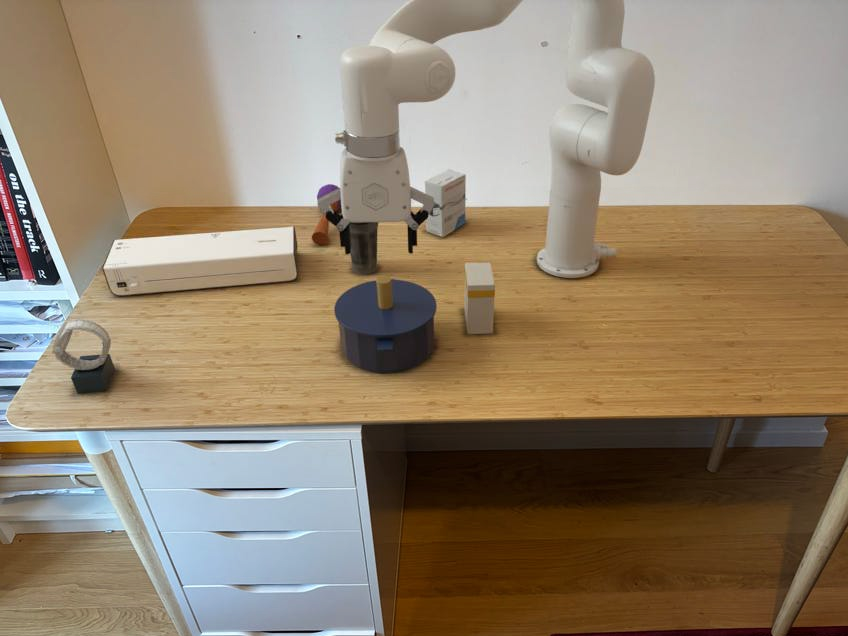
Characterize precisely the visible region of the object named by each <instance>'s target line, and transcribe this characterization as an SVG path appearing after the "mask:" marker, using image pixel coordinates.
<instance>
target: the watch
mask: <svg viewBox="0 0 848 636" xmlns="http://www.w3.org/2000/svg"><path fill="white" fill-rule="evenodd" d="M73 331H86V332H89V333H92V334H94V335H95V336H97V337H98V338H99V339H100V340H101V341H102V342H101V344H102V351H101V353H100V354H91V355H80V356H79V358H77V357H75V356H73V355H72V354H70V353H69V352H68V351H66V349H67V347H68V344H69V343H70V339H71V337H72V334H73ZM111 345H112V339H111V337H110V335H109V332H108V331H107V330H106V329H105V328H104V327H102V326H101V325H100V324H98V323H96V322H94V321H92V320H88V319H79V318H78V319H70V320H69V321H68V322H67V323H66V322H63V323H62V325H61V326H60V328H59V330H58V332H57V335H56V337H55V340H54V342H53V346H52V351H51V354H54V355H55V356H54V357H55V359H56V360H57V361H59V362H60V363H62V365H64V366H66V367H68V368H70V369H74V370H73V372H72V374H71V376H70V379H71V382H72V385H73V386H74V388H75V391H76V394H86V393H87V394H88V393H96V392H97V393H98V392H107V391H108V389H109V387H110V384H111V382H112V379H113V376H114V373H115V371H116V367H115V365H114V363H113V359H112V356H111V355H110V353H109V352H110V349H111Z"/></svg>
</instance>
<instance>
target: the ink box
mask: <svg viewBox="0 0 848 636" xmlns="http://www.w3.org/2000/svg"><path fill="white" fill-rule="evenodd" d="M466 181H467V180H466V174H465V173H463V172H459V171H455V170H453V169H447V170H445V171H442V172H441V173H438V174H436V175H434V176H433V177H431V178H428V179H426V180H425V181H424V190H425V192H424V193H425V194H427V195H429V196H432V197H433V198H434V199H435V205H434V207H433V209H432V210H431V212H430V214H429V215H428V218H427V219H426V220H425V224H426V225H425V226H426V227H425V230H426V232H428V233H431V234H433V235H436V236H438V237H440V238H445V237H446V236H448V235H450V234H451V233H453V232H454V231H455V230H457V229H459V228H460V227H462V226H463V225H465V224H466V190H467V188H466V183H467V182H466Z"/></svg>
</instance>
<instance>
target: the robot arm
mask: <svg viewBox="0 0 848 636" xmlns="http://www.w3.org/2000/svg"><path fill="white" fill-rule="evenodd" d="M523 1H524V0H408V1H407V2H406V3H404V4H403V5H401V6H400V7H399V8H398V9H397V10H396V11H395V12H394V13H393V14H392V15H391V16H390V17H389V18H388V19H387V20H386V21H385V22H384V23H383V24H382V25H381V26H380V28H379V29H378V30H377V32H376V33H374V35H373V37H372V38H371V39H370V42H369V44H368V45H357V46H352V47H349V48H347V49H345V50H343V51H342V53H341V55H340V57H339V73H340V74H339V75H340V85H341V96H342V110H343V121H344V122H343V123H344V130H343V131H342V132H340V133H335V134H334V139H335V144H340V145H343V147H345V148H344V149H342V151H341V156H340V166H339V167H340V168H339V180H340V181H339V184H340V185H339V188H338V189H336V190H334V191H332V192H330V193H328V194H326V195H325V196H323V197H321V198H319V199H318V201H317V207H318V208H319V209H320V211H321V213H322V215H323V214H324V215H325V216H326V219H327V220H328V221H329V223H330V224H332V225H333V226H335V228H336V231H338V232H339V242H340V243H339V245H340V247H341V248H344V253H345V255H350V251H351V236H350V225H349V223H350V222H378V223H400V222H404V223H405V224H406V225H407V253H409V254H411V255H412V254H414V247H417V246H418V230H419V227H420V226H421V225H422V224H423V223H424V222H426V219H427V218H428V215H429V214H430V212H431V210H432V209H433V207H434V205H435V199H434V198H433V197H432V196H429V195H427V194H425V192H423V191H421V190H419V189H417V188H414V187H413V186H411V179H410V171H409V164H408V159H407V154H406V151H405V149H404V148H403V147H402V146H401V144H400V143H401V141H400V140H401V139H400V138H401V137H400V114H399V112H400V111H399V109H400V108H399V105H400V104H403V103H407V104H408V103H430V102H435V101H438V100H439V99H442V98H443V97H445V95H447V94H448V93H449V91H450V90H451V89H452V88H453V86H454V83H455V80H456V66H455V63H454V62H455V61H454V60H453V58H452V57H451V55H450V54H449V53H448V52H447V51H446V50H444V49H443V48H442V47H440V46H438V45H435V44H436V43H437V42H439V41H441V40H443V39H446V38H448V37H450V36H453V35H457V34H462V33H468V32H475V31H481V30H485V29H489V28H493V27H496V26H499V25H501V24H503V22H505V20H506V19H507V18H508V17H509V16H510V15H511V14H512V13H513V12H514V11H515V10H516V9H517V8H518V6H519V5H520V4H521V3H522V2H523ZM571 4H572V18H571V19H572V20H571V30H570V38H569V46H568V53H567V61H566V71H565V84H566V88H567V90H568V91H569V92H570V93H571V94H572V95H574V96H576V97H578V98H580V99H583V100H585V101H588V102H590V103H594V104H596V105H599V106H602V107H604V108H607V111H604V110H601V109H598V108H597V107H596V108H595V107H593V106H590V105H586V104H581V103H570V104H567V105H565V106H563V107H561V108H559V110H558V111H557V112H555V114H554V115H553V118H552V120H551V122H550V126H549V132H548V133H549V135H548V137H549V148H550V157H551V158H550V159H551V177H550V178H551V179H550V189H549V201H548V211H547V212H548V213H547V224H546V235H545V236H546V237H545V245H544V246H545V247H543V248H541V249H540V250H539V252H538V253H537V255H536V265H538V267H539V269H541V270H542V271H543V272H545V273H547V274H549V275H551V276H554V277H558V278H564V279H580V278H585V277H587V276H590V275H592V274H594V273H595V272H596V271H597V270H598V268H599V264H600V259H601V258H616V257H617V248H616V247H608V243H606V242H603V243H601V242H600V243H596V242H595V235H596V227H597V220H598V213H599V205H600V198H601V192H602V175H601V172H602V173H604V174H607V175H610V176H623V175H626V174H627V173H629V172H630V171H631V170H632V169H633V168H634V166H635V165H636V164H637V162H638V160H639V158H640V156H641V153H642V149H643V144H644V140H645V136H646V131H647V126H648V122H649V116H650V111H651V107H652V103H653V102H652V101H653V97H654V92H655V83H656V82H655V81H656V76H655V70H654V66H653V64H652V62H651V60H650V59H649V58H648V57H647V56H646V55H645V54H643V53H641V52H639V51H636V50H633V49H628V48H625V47H623V45H622V38H623V31H624V30H623V29H624V22H625V0H571ZM340 199H341V207H340V208H341V213H340V214H339V213H338V212H337V211H334V210H333V209H332V208H331V206H330V204H332V203H334V202H336V201H338V200H340ZM412 200H413V201H415V202H418V203H420V204H422V207H421V208H420V209H419V210H418V211H417V212H416V213H415V212H414V211H413V209H412Z"/></svg>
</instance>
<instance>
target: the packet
mask: <svg viewBox="0 0 848 636" xmlns="http://www.w3.org/2000/svg"><path fill="white" fill-rule="evenodd" d="M492 269H493V268H492V264H491V262H465V263H464V317H465V325H466V332H467V335H477V334H478V335H482V334H494V318H495V316H494V315H495V294H496V293H495V292H496V291H495V290H496V289H495V288H496V284H495V279H494V274H493V270H492Z"/></svg>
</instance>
